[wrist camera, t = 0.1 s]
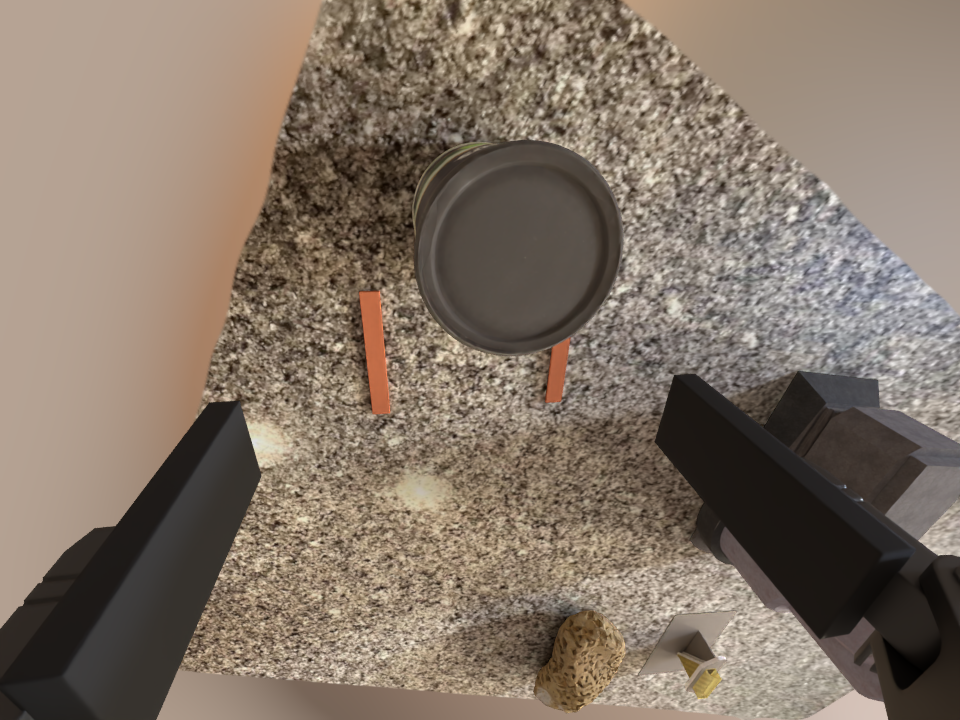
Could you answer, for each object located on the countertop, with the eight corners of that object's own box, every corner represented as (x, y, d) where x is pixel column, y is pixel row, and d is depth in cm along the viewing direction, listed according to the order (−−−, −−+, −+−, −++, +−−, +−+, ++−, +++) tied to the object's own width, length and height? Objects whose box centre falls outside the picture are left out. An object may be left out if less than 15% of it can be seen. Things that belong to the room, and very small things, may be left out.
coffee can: (417, 127, 28) (427, 115, 16) (555, 156, 31) (655, 164, 18) (404, 272, 33) (403, 348, 21) (524, 287, 35) (589, 364, 23)
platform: (638, 675, 73) (657, 720, 68) (675, 615, 66) (701, 660, 60) (694, 669, 76) (718, 712, 70) (737, 610, 68) (767, 653, 62)
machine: (765, 552, 61) (958, 772, 40) (673, 554, 57) (832, 796, 36) (891, 381, 48) (1277, 571, 27) (783, 369, 44) (1131, 577, 23)
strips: (359, 290, 33) (358, 292, 33) (576, 286, 36) (577, 287, 36) (372, 412, 39) (372, 414, 38) (560, 400, 41) (561, 401, 41)
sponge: (577, 664, 70) (654, 622, 60) (582, 723, 64) (669, 687, 53) (510, 642, 68) (577, 594, 57) (508, 700, 62) (584, 658, 51)
